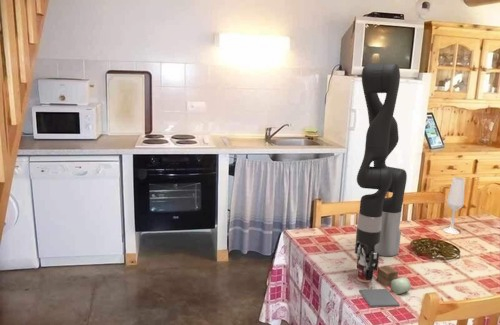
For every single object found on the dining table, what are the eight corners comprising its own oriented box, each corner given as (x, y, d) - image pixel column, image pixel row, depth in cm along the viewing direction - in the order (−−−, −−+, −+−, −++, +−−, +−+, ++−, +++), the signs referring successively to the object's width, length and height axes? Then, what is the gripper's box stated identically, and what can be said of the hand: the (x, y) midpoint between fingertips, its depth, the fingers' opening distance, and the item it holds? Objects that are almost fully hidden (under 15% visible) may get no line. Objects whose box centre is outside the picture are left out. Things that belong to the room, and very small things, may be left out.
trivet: (386, 290, 134) (386, 288, 134) (399, 306, 125) (399, 304, 125) (359, 291, 133) (359, 289, 133) (370, 307, 124) (370, 305, 124)
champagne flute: (451, 234, 182) (459, 181, 177) (439, 229, 188) (446, 177, 183) (462, 232, 185) (471, 180, 180) (450, 227, 191) (458, 176, 186)
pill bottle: (354, 275, 143) (357, 252, 141) (368, 275, 143) (370, 252, 141) (359, 282, 138) (361, 259, 136) (373, 282, 138) (376, 259, 137)
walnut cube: (387, 277, 142) (389, 265, 141) (396, 284, 138) (398, 271, 137) (376, 279, 141) (378, 267, 140) (385, 286, 137) (387, 273, 136)
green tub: (391, 291, 134) (400, 289, 136) (401, 295, 130) (411, 293, 132) (390, 278, 134) (399, 275, 136) (401, 281, 130) (410, 279, 132)
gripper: (389, 235, 130) (383, 284, 133) (371, 219, 144) (366, 264, 147) (366, 235, 129) (361, 284, 133) (350, 219, 143) (346, 264, 147)
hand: (364, 273), depth 140 cm, fingers open, 7 cm apart
